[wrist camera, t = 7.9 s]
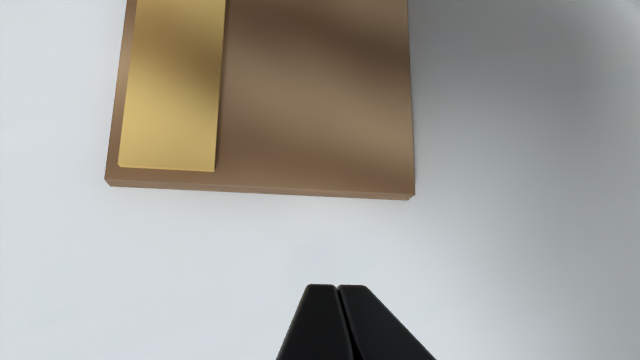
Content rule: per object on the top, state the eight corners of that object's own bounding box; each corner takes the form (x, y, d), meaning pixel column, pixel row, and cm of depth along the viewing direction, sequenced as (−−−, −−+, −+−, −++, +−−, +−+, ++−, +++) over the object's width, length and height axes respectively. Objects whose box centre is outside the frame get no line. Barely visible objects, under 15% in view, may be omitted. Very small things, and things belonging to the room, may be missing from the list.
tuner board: (407, 200, 23) (418, 191, 22) (110, 186, 21) (101, 176, 20) (397, -76, 27) (405, -97, 26) (146, -106, 25) (141, -131, 24)
